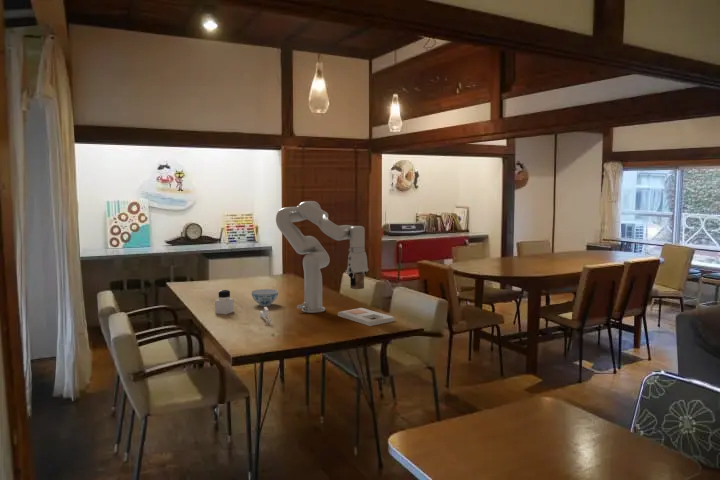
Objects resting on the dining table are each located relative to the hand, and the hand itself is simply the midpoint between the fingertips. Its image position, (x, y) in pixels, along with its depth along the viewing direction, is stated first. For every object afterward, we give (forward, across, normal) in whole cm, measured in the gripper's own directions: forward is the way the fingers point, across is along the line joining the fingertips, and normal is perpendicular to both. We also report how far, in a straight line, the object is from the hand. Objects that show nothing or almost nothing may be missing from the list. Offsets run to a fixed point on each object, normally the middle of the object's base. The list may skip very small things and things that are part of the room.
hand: (357, 284), depth 276 cm
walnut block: (+2, 0, 0) cm, 2 cm away
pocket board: (+17, 0, -7) cm, 18 cm away
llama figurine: (+17, -43, +20) cm, 50 cm away
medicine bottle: (+17, -51, +49) cm, 73 cm away
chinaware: (+17, -25, +52) cm, 60 cm away
